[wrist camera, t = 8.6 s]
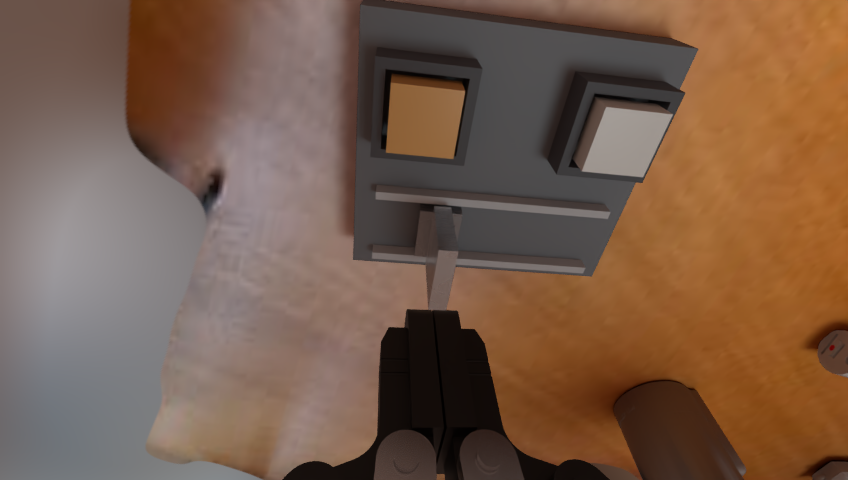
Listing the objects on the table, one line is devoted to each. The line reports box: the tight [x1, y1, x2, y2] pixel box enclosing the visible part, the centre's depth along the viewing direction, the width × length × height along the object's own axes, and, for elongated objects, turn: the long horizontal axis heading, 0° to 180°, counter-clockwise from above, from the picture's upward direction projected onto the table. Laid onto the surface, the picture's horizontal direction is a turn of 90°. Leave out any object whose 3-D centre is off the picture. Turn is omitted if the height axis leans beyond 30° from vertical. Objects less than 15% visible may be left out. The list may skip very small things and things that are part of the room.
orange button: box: [386, 74, 465, 159], centre depth 24 cm, size 4×4×2 cm
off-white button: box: [572, 97, 673, 177], centre depth 25 cm, size 4×4×2 cm
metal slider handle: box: [414, 203, 463, 310], centre depth 29 cm, size 3×5×6 cm, turn 173°
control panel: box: [353, 0, 698, 276], centre depth 30 cm, size 20×18×5 cm
